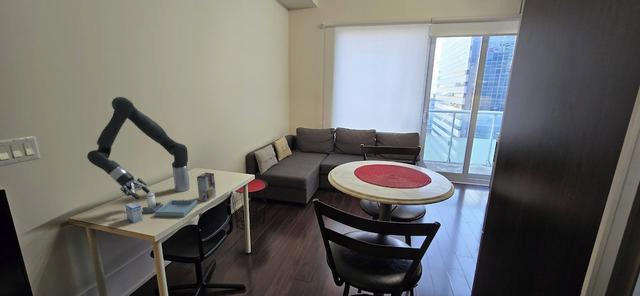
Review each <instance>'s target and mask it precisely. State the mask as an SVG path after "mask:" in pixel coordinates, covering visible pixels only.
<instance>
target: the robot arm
mask: <svg viewBox="0 0 640 296" xmlns="http://www.w3.org/2000/svg"><path fill="white" fill-rule="evenodd" d="M111 107H112V109H113V110H114V111H113V114H112V116H111V119H110V121H109V122H108V123H107V124H106V126H105V127H104V128H103V130H102V131H101V133H100V135H99V137H98V139H97V141H96V144H97V145H98V148H97V150H96V149H94V150H91V151H89V152H88V153H87V156H86V157H87V160H88V162H90V163H91V164H93V166H95V167H97V168H99V169H100V170H103V171H104V172H105V173H106V174H107V175H109V176H110V177H111V178H112V179H113V180H114V181H115V182H116V183H117V184H118V185H120V186H121V187H120V188H119V189H120V191H122V193H124V194H125V195H126V196H127V197H130V196H132V197H133V198H134V199H136V200H140V198H141V195H140V194H138V193H137V192H135V190H136V189H141V190H142V191H143V192H144V193H146V194H148V193H151V190H150V188H147V185H148V184H147V183H146V182H145V181H143V179H141V178H139V177H138V178H137V179H135V177H134V176H133V175H132V174H131V173H130V172H129V171H128V170H126V168H124V167H122V166H121V165H120V164H118V162H116V161H115V160H112V159H109V158H110V155H111V153H112V147H113V145H114V143H115V141H116V138H117V136H118V134H119V132H120V131H121V129H122V127H123V126H124V124H125V122H126V120H127V119H128V120H129V121H130V122H132V123H133V125H135V127H137V128H138V129H139V130H140V131H141V132H142V133H143V134H144V135H146V136H147V137H148V138H150V139H151V140H153V141H154V142H156V143H157V144H159V145H160V146H161V147H163V149H164V150H166V151H167V152H168V153H169V154H170V155H171V156H173V159H174V161H173V162H172V163H171V165H172V174H173V175H172V176H173V184H174V191H175V192H186V191H188V190H190V189H191V188H190V187H191V186H190V184H191V183H190V176H189V175H190V174H189V169H188V162H189V155H188V154H189V152H188V147H187V146H186V145H185V144H183V143H178V142H177V141H175V140H174V139H172V138H170V136H168V134H167V132H166V131H165V130H164V128H163V127H162V126H160V125H159V124H158V123H157V122H156V121H154V120H153V119H151V117H148V116H147V115H146V114H144V113H142V112H141V111H140V110H138V108H136V107H135V105H134V104H133V102H132V101H131V100H130V99H128V98H126V97H123V96H117V97H115V98H113V99H112V101H111Z"/></svg>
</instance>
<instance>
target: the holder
mask: <svg viewBox="0 0 640 296" xmlns="http://www.w3.org/2000/svg"><path fill="white" fill-rule="evenodd" d="M155 202H156V201H155ZM162 206H164V203H162V202H159V201H157V202H156V208H155V209H154V207H148V206H143V207H141V210H142V214H155V211H157V210H158V209H160V208H161V207H162Z"/></svg>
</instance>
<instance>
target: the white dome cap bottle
mask: <svg viewBox="0 0 640 296" xmlns="http://www.w3.org/2000/svg"><path fill="white" fill-rule="evenodd" d="M145 196H146V202H147V207H154V209H155V208H156V195H155V192H149V193H148V194H147V193H146V195H145Z"/></svg>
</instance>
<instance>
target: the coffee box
mask: <svg viewBox="0 0 640 296" xmlns="http://www.w3.org/2000/svg"><path fill="white" fill-rule="evenodd" d="M196 180H197V181H196V182H197V192H198V200H199V201H202V202H209V201H211V200H212V199H214V198H215V197H217V193H216V182H215V181H216V180H215V173H214V172H213V173H211V172H204V173H202V174H200V175H197V176H196Z"/></svg>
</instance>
